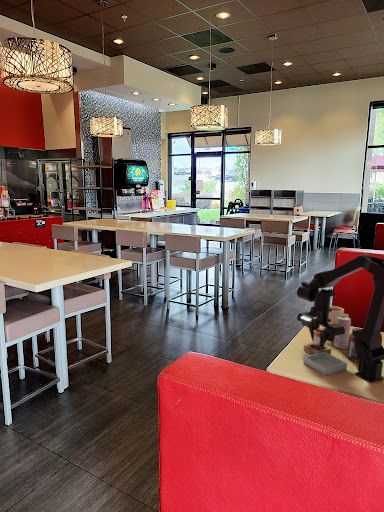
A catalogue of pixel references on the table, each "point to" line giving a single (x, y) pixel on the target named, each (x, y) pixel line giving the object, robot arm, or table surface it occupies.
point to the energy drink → (342, 339)
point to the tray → (325, 363)
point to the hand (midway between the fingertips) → (317, 344)
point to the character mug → (335, 316)
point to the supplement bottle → (352, 346)
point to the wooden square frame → (312, 350)
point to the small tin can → (317, 339)
